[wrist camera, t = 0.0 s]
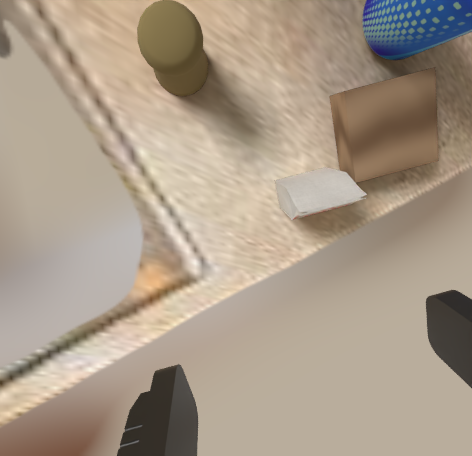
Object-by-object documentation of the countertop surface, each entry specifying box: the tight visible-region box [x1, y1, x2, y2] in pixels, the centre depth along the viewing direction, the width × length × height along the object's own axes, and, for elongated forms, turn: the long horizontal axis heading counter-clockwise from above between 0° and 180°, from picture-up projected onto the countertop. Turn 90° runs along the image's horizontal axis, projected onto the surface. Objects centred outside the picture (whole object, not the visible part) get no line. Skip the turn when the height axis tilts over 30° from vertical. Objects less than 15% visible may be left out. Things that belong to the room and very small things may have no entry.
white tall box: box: [274, 167, 367, 220], centre depth 33 cm, size 4×7×10 cm, turn 104°
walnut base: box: [330, 67, 439, 183], centre depth 35 cm, size 10×10×4 cm
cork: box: [137, 0, 208, 96], centre depth 27 cm, size 6×6×11 cm
